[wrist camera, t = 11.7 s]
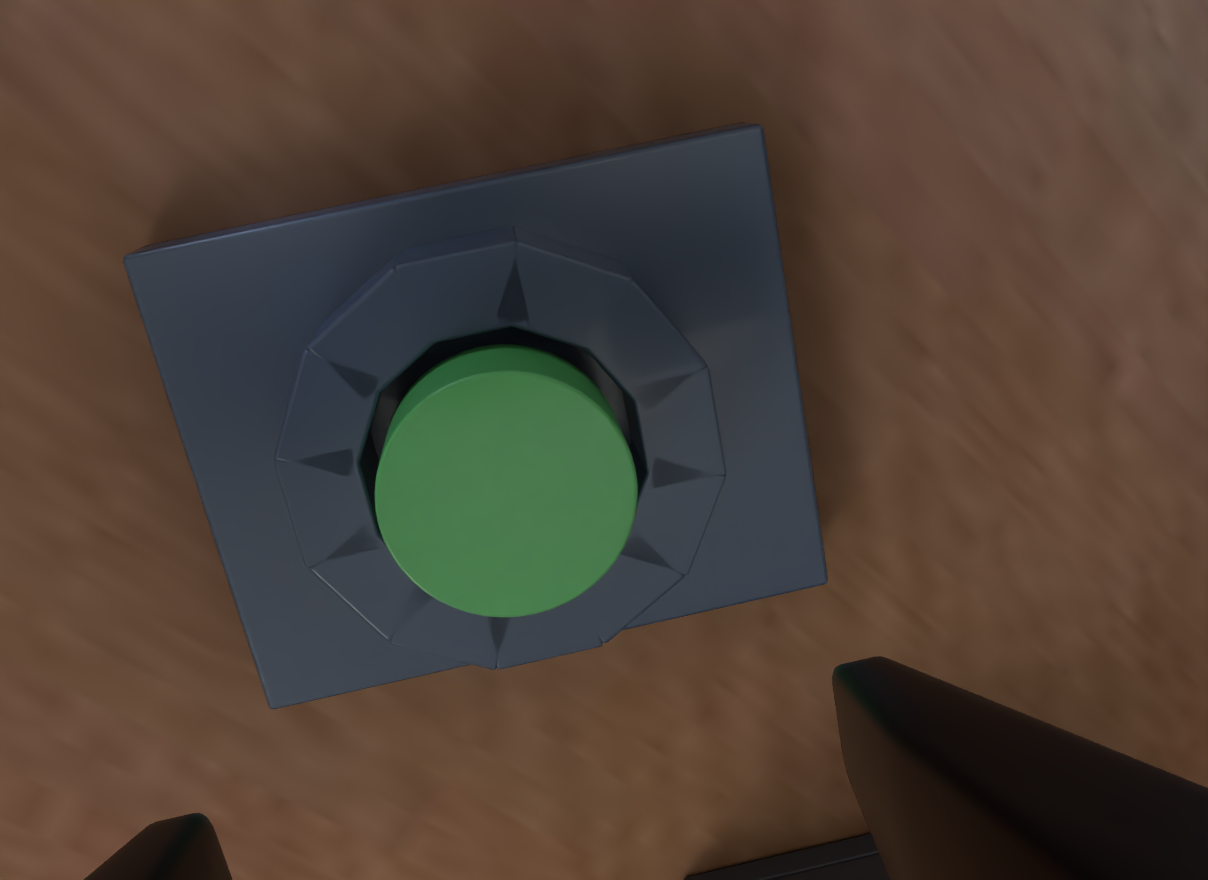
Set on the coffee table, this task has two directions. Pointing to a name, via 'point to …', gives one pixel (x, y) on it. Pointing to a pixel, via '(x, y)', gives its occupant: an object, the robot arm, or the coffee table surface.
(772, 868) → the divided tray
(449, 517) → the button
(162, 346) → the grey button base
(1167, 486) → the coffee table surface
